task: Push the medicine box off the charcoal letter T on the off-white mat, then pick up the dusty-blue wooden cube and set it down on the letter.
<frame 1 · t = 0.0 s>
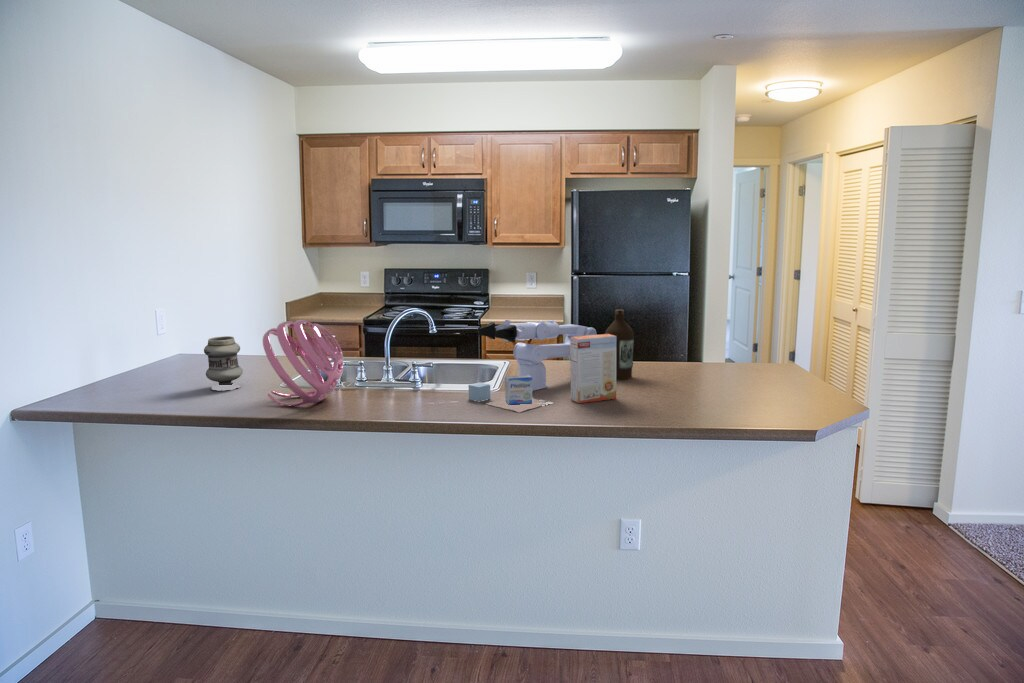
hand: (487, 332, 230), 22 cm above the table, tool horizontal, fingers open, 7 cm apart
blue cube: (479, 399, 232), on the table
olive oil: (618, 378, 262), on the table
apothecary jar: (225, 388, 251), on the table
letter mat: (518, 403, 226), on the table
cracker box: (593, 400, 230), on the table
spiral basket: (306, 402, 231), on the table
medicine box: (518, 403, 226), resting on letter mat
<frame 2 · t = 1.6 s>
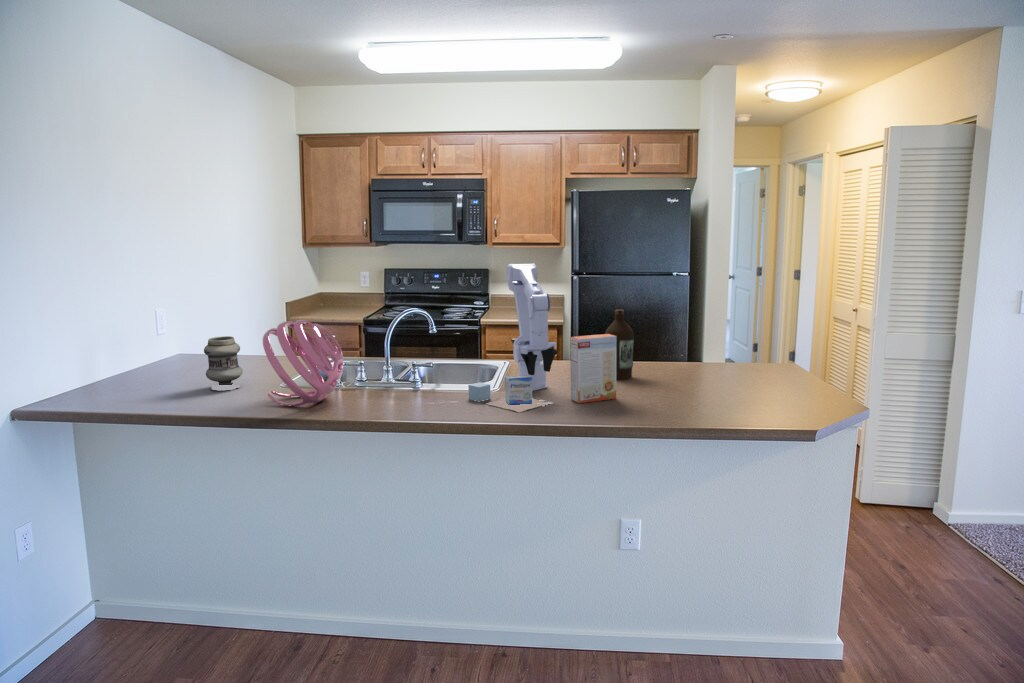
hand: (539, 372, 231), 8 cm above the table, tool pointing down, fingers open, 7 cm apart
nothing on the table moved.
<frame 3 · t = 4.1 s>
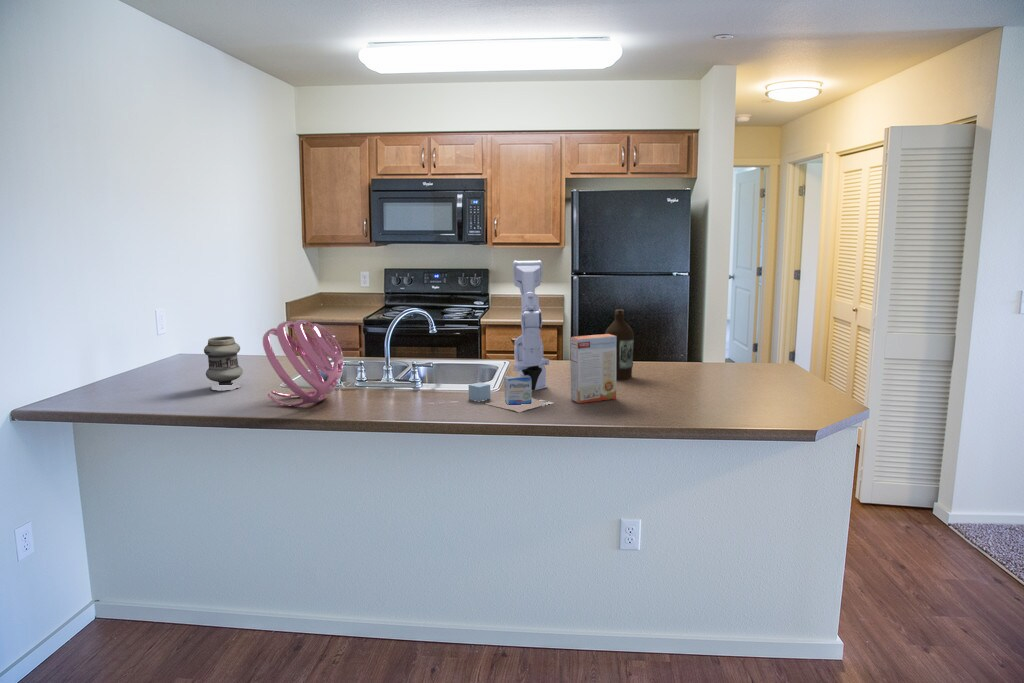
hand: (531, 389, 230), 3 cm above the table, tool pointing down, fingers closed
medicine box: (518, 403, 226), resting on letter mat, touching gripper
everything else where it was.
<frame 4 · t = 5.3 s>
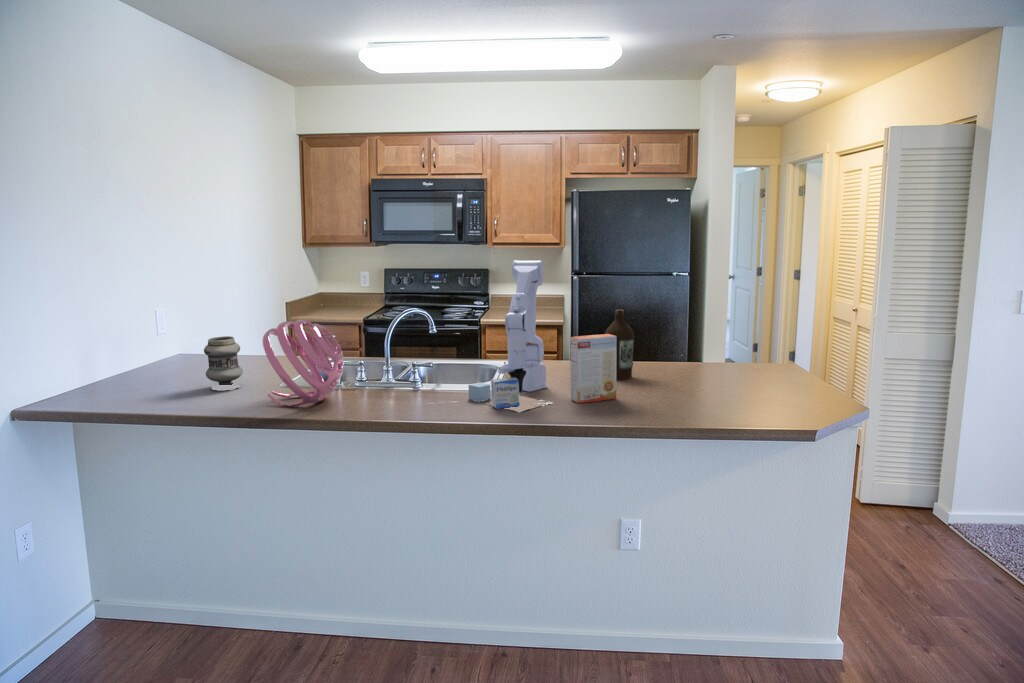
hand: (517, 392, 225), 4 cm above the table, tool pointing down, fingers closed, pressing on medicine box
medicine box: (505, 406, 222), on the table, touching gripper, letter mat
everything else where it was.
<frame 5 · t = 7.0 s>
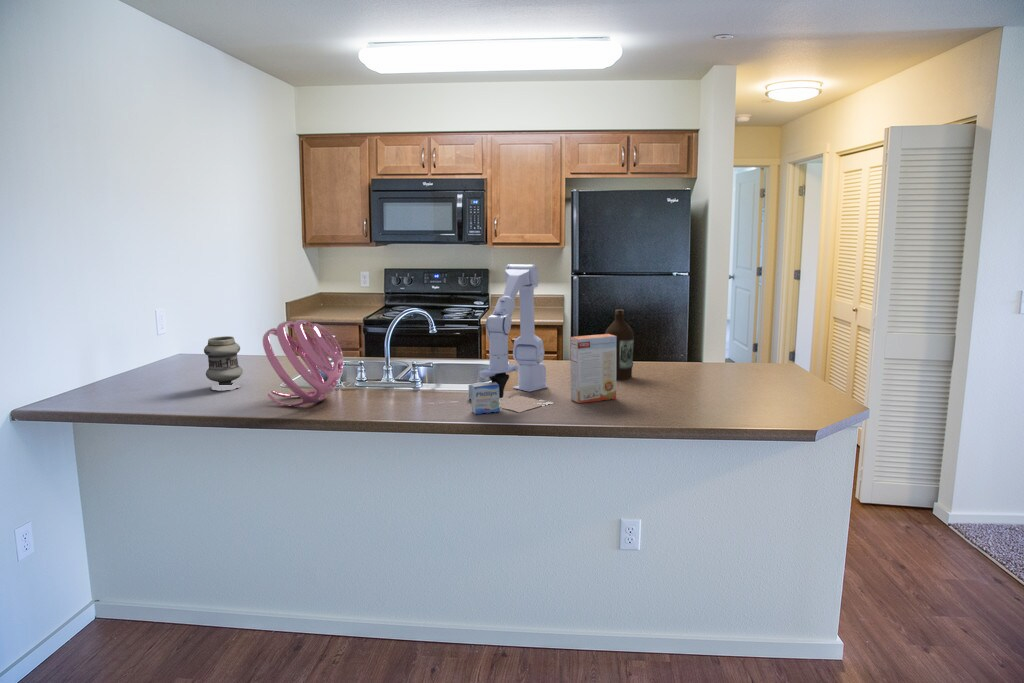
hand: (499, 397, 220), 4 cm above the table, tool pointing down, fingers closed
medicine box: (486, 412, 217), on the table, touching gripper
everything else where it was.
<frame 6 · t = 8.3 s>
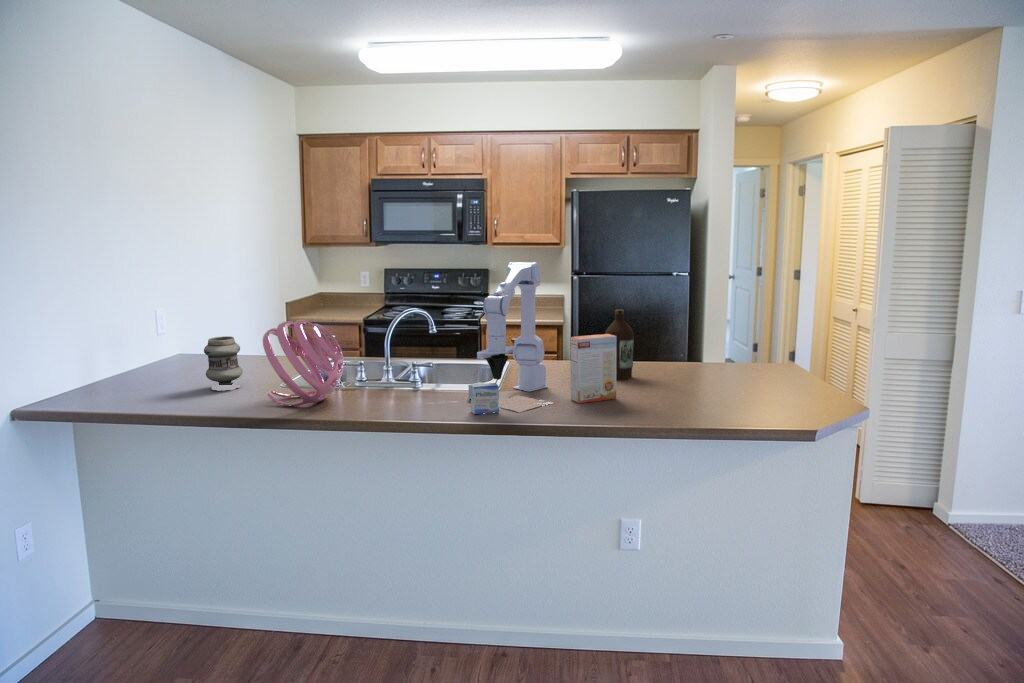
hand: (497, 378, 219), 9 cm above the table, tool pointing down, fingers closed
medicine box: (485, 413, 216), on the table
everything else where it was.
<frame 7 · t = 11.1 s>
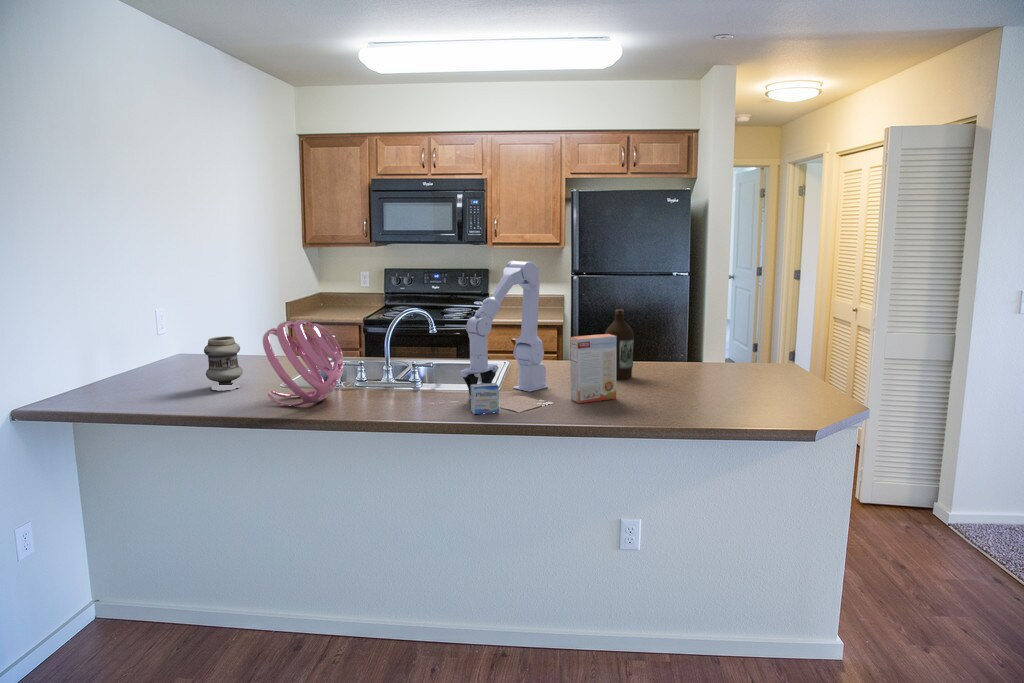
hand: (479, 395, 232), 1 cm above the table, tool pointing down, fingers closed on blue cube, 5 cm apart
blue cube: (479, 399, 232), on the table, touching gripper
everything else where it was.
when the fingers open (3 cm above the table, at t = 14.9 s): blue cube drops 1 cm, resting on letter mat.
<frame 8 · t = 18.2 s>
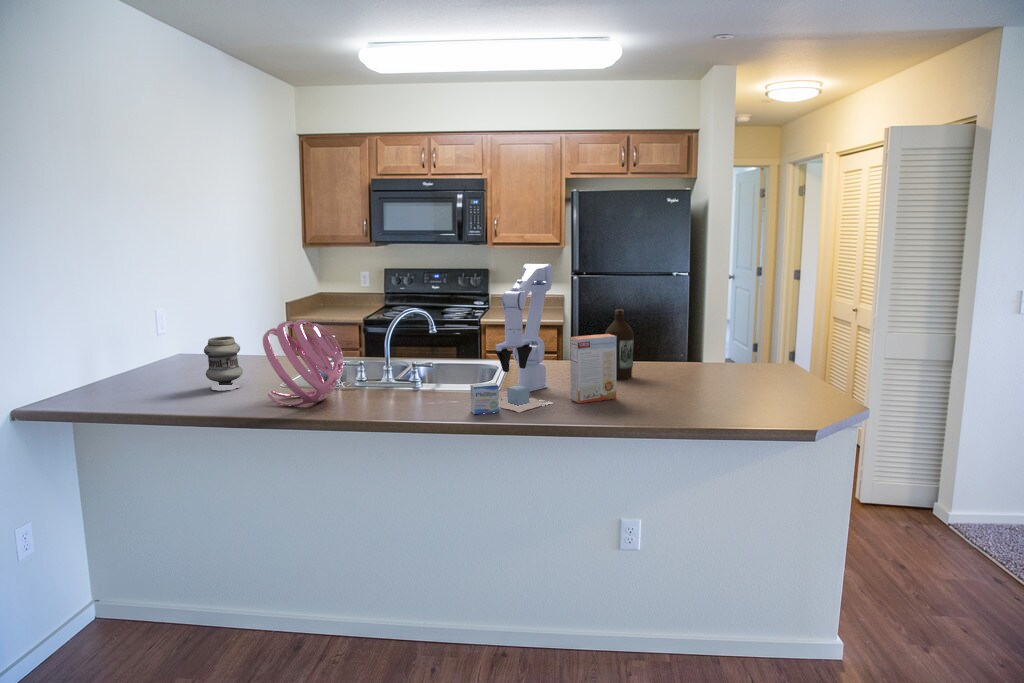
hand: (514, 369, 232), 9 cm above the table, tool pointing down, fingers open, 7 cm apart
blue cube: (518, 403, 226), resting on letter mat
everything else where it was.
at the end: blue cube 0.2 cm off-centre on the letter mat, point 0.1 cm above the letter mat's base; medicine box inside the target area on the table beside the letter mat (4.5 cm from its centre), on the table; the gripper is holding nothing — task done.
